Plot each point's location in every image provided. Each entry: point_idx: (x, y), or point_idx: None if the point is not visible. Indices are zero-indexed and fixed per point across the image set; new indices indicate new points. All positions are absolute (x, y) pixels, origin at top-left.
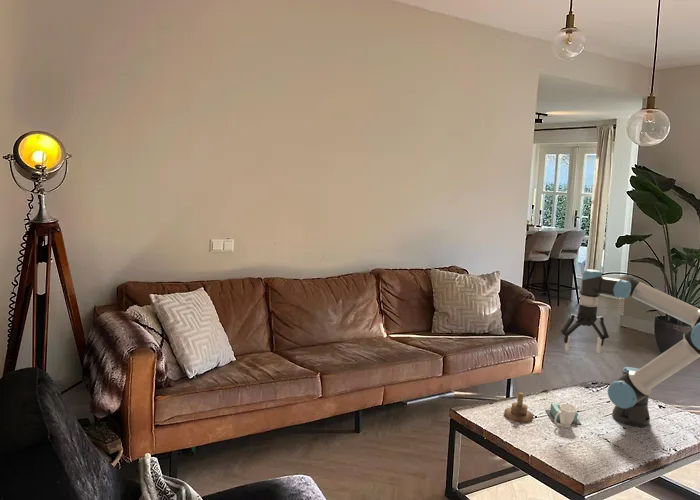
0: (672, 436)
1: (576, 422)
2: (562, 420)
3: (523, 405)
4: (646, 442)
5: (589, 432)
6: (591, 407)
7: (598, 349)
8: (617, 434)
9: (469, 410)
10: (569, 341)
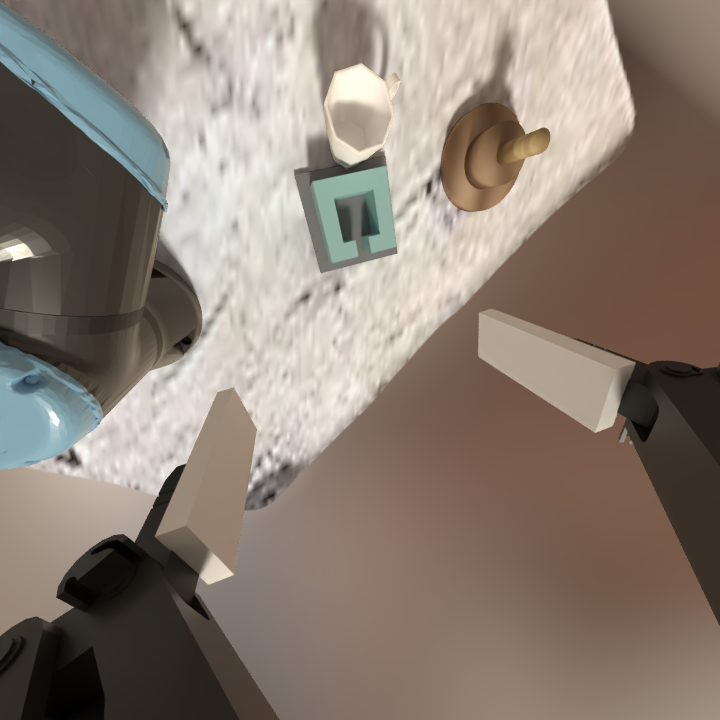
0: None
1: (310, 181)
2: (364, 117)
3: (491, 161)
4: None
5: (263, 106)
6: (267, 346)
7: (227, 413)
8: (158, 131)
9: (597, 150)
10: (554, 344)
